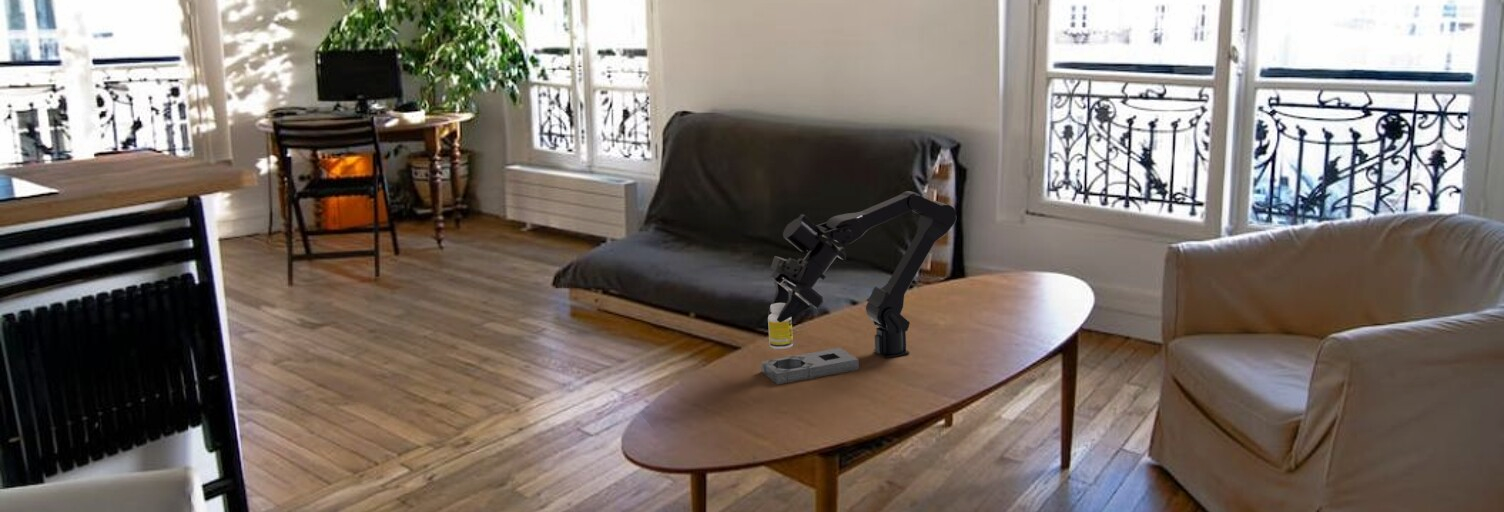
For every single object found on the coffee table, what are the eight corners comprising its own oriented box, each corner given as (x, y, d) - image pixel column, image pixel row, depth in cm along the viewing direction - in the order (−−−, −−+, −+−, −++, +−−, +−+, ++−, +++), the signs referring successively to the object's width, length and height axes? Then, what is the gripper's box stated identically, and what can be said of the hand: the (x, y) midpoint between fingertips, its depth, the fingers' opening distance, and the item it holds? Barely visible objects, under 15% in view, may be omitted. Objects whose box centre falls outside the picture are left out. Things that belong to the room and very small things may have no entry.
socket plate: (840, 357, 280) (839, 347, 279) (859, 369, 270) (858, 359, 270) (760, 371, 273) (760, 361, 272) (777, 384, 263) (776, 374, 263)
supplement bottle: (794, 348, 268) (792, 307, 266) (771, 350, 268) (768, 309, 265) (791, 341, 273) (789, 300, 271) (768, 343, 273) (765, 303, 271)
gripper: (775, 235, 275) (735, 288, 274) (806, 250, 258) (762, 307, 257) (809, 263, 279) (769, 315, 278) (841, 280, 262) (798, 336, 261)
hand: (773, 318), depth 268 cm, fingers closed on supplement bottle, 5 cm apart
